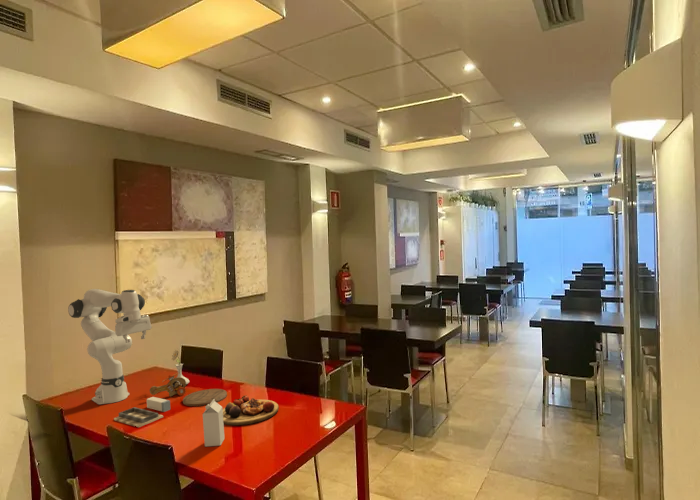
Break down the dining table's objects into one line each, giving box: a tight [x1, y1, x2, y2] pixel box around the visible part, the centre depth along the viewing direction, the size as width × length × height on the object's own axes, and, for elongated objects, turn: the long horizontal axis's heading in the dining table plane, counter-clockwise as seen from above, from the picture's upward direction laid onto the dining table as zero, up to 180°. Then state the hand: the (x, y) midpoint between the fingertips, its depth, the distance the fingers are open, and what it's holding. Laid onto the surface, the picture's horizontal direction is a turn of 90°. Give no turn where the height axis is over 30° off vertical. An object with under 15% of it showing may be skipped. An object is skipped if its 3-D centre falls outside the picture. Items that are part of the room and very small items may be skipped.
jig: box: [113, 406, 164, 428], centre depth 231 cm, size 23×14×3 cm, turn 58°
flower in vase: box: [171, 348, 190, 385], centre depth 284 cm, size 13×11×25 cm
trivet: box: [182, 388, 228, 408], centre depth 257 cm, size 25×25×2 cm
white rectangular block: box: [146, 396, 171, 413], centre depth 245 cm, size 16×4×5 cm, turn 58°
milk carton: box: [202, 399, 225, 447], centre depth 196 cm, size 7×7×19 cm
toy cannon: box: [149, 372, 187, 397], centre depth 264 cm, size 8×21×14 cm, turn 123°
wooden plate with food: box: [223, 395, 279, 426], centre depth 229 cm, size 32×32×8 cm
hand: (135, 340), depth 251 cm, fingers open, 8 cm apart
